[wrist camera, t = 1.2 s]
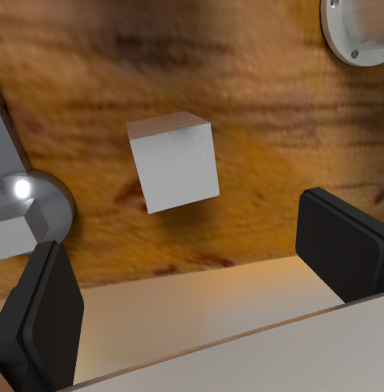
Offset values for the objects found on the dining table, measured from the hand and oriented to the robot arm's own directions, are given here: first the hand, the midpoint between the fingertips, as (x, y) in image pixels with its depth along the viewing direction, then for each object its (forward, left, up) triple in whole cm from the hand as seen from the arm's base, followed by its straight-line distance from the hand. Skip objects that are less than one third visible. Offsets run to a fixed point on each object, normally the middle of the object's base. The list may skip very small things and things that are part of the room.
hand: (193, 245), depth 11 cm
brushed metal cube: (-2, +1, -19) cm, 19 cm away
